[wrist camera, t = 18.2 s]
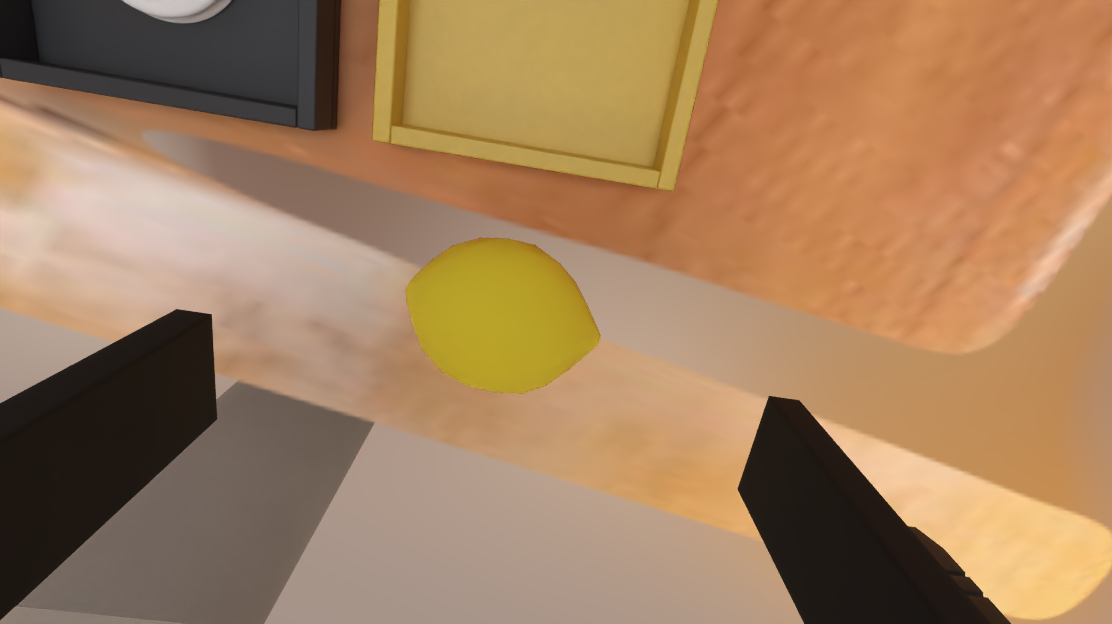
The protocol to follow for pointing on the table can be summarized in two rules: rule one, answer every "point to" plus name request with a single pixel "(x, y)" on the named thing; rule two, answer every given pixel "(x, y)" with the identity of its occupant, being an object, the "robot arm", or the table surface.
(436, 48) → the yellow tray
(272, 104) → the charcoal tray
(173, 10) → the chess piece
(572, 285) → the lemon
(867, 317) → the table surface
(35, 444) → the robot arm
